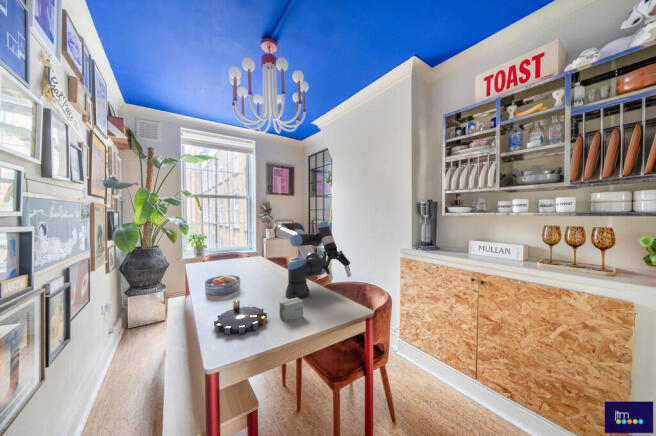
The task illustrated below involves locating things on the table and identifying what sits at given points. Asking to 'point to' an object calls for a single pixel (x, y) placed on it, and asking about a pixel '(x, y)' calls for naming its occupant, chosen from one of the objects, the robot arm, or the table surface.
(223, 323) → the sprocket wheel
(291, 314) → the link block
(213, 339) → the table surface
